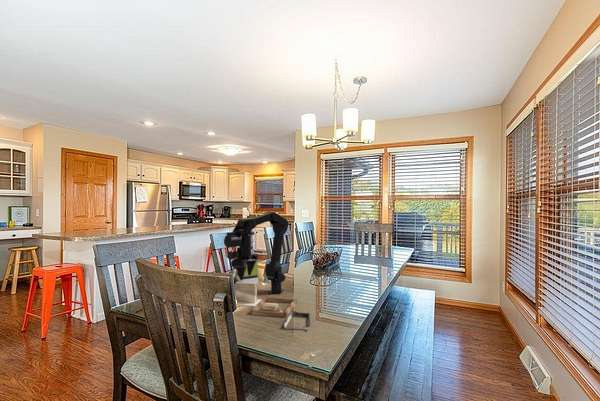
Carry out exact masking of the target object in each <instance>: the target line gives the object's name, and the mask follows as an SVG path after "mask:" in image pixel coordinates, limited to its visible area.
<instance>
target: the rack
mask: <svg viewBox="0 0 600 401" xmlns="http://www.w3.org/2000/svg"><path fill="white" fill-rule="evenodd" d="M267 302H269V303H284V304H285V303H286V304H287V303H288V304H289V306H288V307H287V308H286V309H285V311H282V312H273V311H260V309H261V308H262V305H264V304H265V303H267ZM297 302H298V300H297V299H296V298H284V297H283V298H282V297H272V296H271V297H268V296H264V297H263V298H262V300H261V301H260V302H259V303H258V304H257V305H256V306H253V307H252V308H251V309H250V310H249V315H251V316H252V315H254V316H266V317H276V318H288V316H289V315H290V314H291V312H292V311H293V308H294V307H295V306H296V305H297Z"/></svg>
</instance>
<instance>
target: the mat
mask: <svg viewBox="0 0 600 401" xmlns="http://www.w3.org/2000/svg"><path fill="white" fill-rule="evenodd" d="M262 299H263V298H262ZM262 299H259V298H257V302H256V303H244V302H237V305H236V306H245V307H255V306H256V305H257V304H258V303H259V302H260V301H261V300H262Z"/></svg>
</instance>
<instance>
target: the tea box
mask: <svg viewBox="0 0 600 401" xmlns="http://www.w3.org/2000/svg"><path fill="white" fill-rule="evenodd" d="M235 259H237V258H235ZM258 260H259V259H257V262H256V264H255V266H254V268H253V270H252V273H251V275H248V270H247V267H246V270H245V274H244V277H243V280H240V278H239V275H238V272H237V270H236V269H235V270H236V280H237V282H252V283H257V284H258V283H259V265H258ZM245 266H247V264H246V265H245Z"/></svg>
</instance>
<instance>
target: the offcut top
mask: <svg viewBox="0 0 600 401" xmlns="http://www.w3.org/2000/svg"><path fill="white" fill-rule="evenodd" d="M278 307H279V303H276V302H265V303H264V304H263V305H262V306H261V308H262V309H267V310H276V309H277V308H278Z"/></svg>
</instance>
